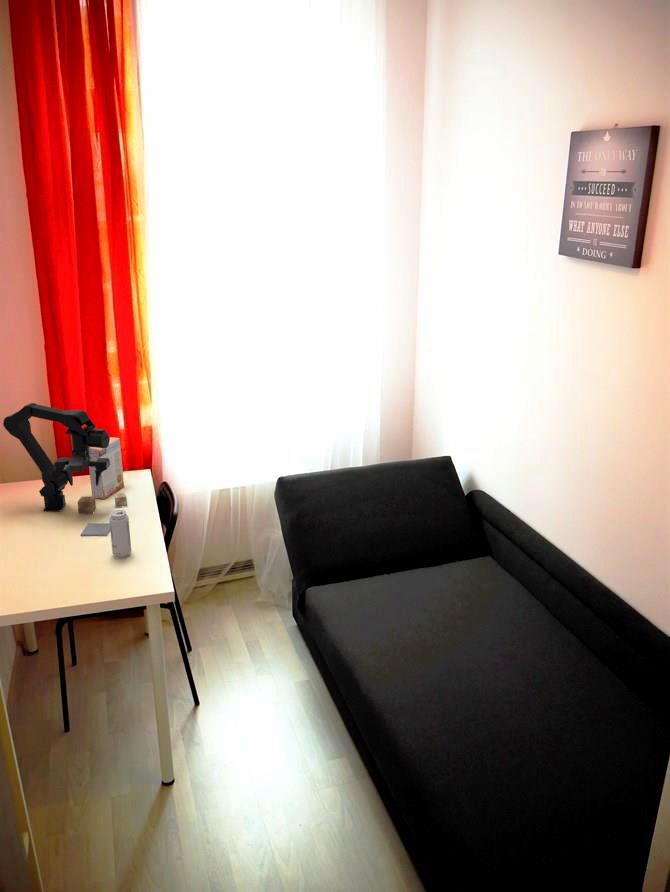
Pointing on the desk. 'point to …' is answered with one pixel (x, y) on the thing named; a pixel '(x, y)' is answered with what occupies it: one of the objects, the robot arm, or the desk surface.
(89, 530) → the slate coaster
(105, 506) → the desk surface
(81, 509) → the walnut cube
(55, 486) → the robot arm
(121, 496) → the oak block
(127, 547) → the energy drink can
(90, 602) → the desk surface
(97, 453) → the cracker box
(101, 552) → the desk surface
